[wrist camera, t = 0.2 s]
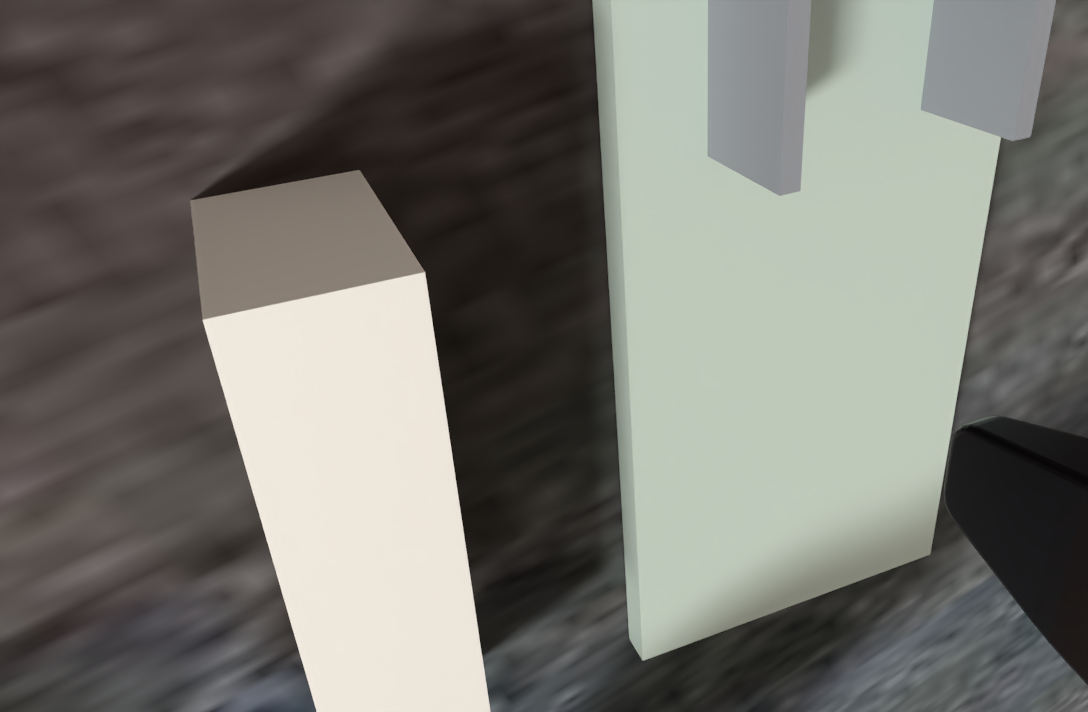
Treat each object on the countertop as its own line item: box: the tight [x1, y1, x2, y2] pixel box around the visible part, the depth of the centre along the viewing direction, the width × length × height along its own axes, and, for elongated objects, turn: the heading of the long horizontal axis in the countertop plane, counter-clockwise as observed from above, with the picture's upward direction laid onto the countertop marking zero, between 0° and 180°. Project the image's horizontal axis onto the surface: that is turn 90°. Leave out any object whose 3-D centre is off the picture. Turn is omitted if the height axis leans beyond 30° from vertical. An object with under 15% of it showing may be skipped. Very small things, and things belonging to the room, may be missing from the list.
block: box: [190, 170, 490, 712], centre depth 21 cm, size 16×4×6 cm, turn 4°
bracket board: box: [592, 0, 1056, 661], centre depth 23 cm, size 24×11×4 cm, turn 5°
